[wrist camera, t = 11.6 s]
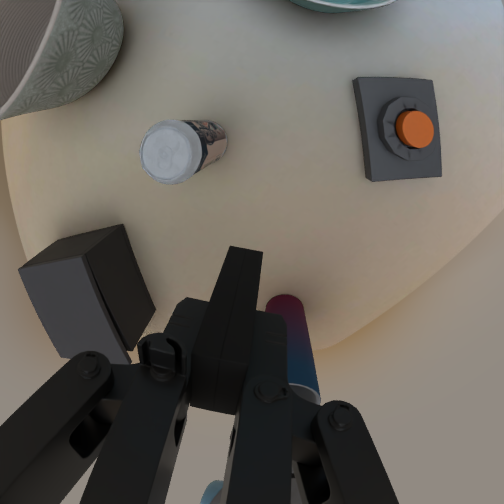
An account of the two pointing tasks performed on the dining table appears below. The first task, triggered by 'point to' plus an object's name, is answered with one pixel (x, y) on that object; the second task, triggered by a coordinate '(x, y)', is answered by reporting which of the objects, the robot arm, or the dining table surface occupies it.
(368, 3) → the bowl
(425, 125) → the button
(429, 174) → the control block
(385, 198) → the dining table surface
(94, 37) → the planter
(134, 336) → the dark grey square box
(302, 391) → the cup
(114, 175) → the dining table surface
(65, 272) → the dark grey square slab
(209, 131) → the beer can
